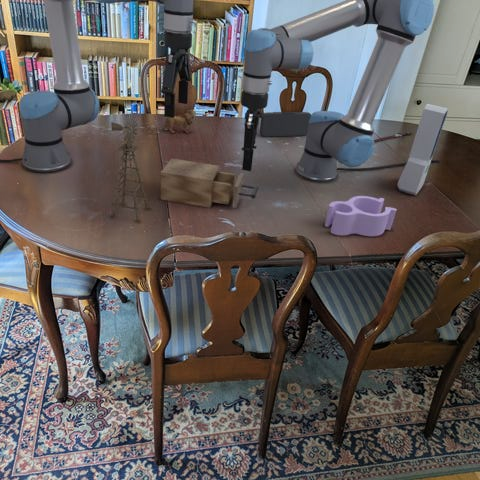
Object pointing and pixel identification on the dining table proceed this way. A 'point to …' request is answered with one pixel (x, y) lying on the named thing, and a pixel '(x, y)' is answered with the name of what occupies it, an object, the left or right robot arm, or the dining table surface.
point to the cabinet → (188, 182)
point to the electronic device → (422, 149)
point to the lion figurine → (181, 121)
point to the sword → (390, 137)
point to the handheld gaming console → (284, 123)
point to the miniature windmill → (125, 147)
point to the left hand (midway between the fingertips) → (176, 109)
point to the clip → (359, 216)
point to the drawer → (229, 188)
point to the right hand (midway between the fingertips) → (246, 169)
